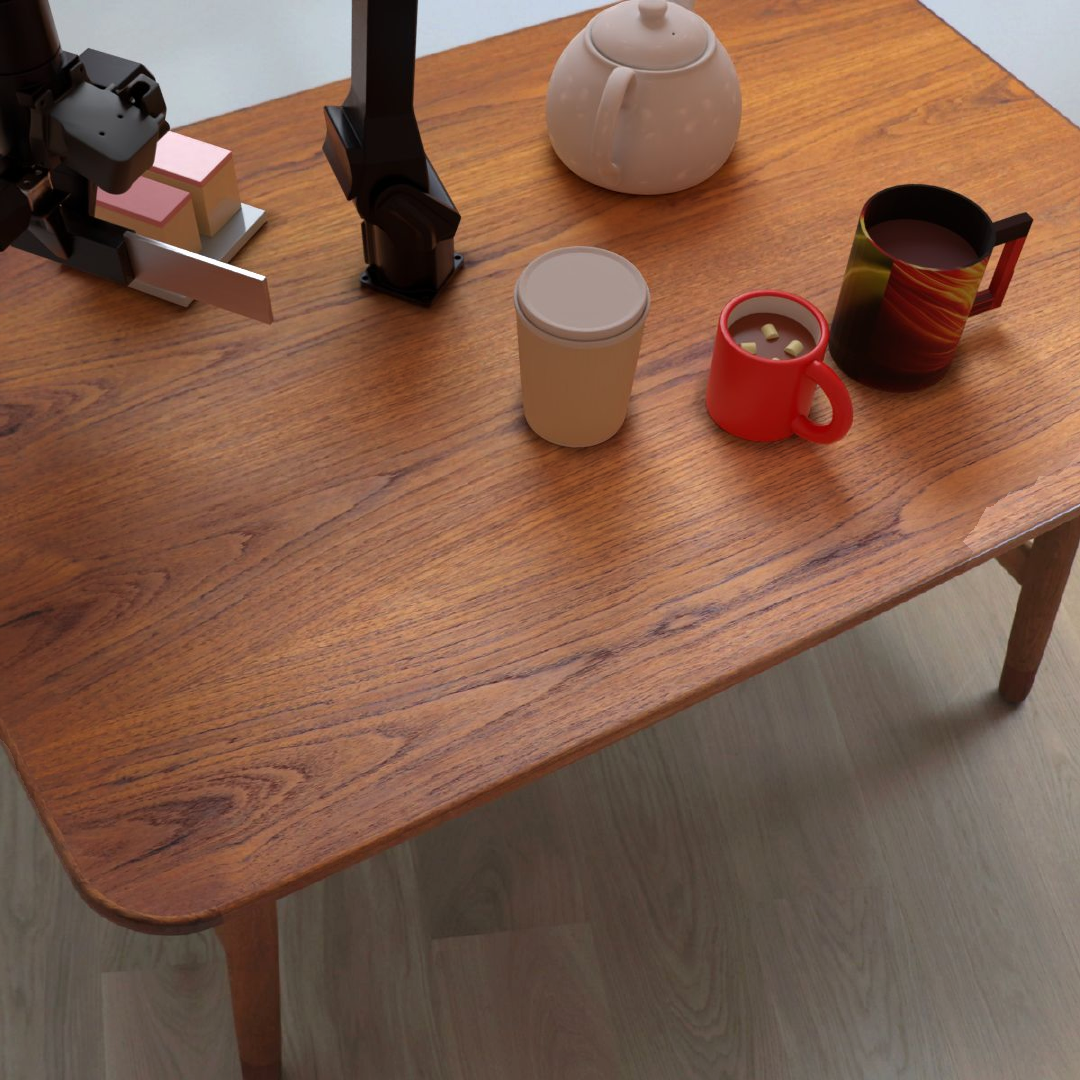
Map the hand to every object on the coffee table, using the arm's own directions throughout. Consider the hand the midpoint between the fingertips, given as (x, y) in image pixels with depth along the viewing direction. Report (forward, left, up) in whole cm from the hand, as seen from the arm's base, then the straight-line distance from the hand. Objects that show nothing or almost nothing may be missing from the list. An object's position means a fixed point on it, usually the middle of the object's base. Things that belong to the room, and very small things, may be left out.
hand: (74, 246), depth 97 cm
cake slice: (+3, -10, -9) cm, 14 cm away
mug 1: (-49, -16, -10) cm, 52 cm away
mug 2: (-55, -29, -10) cm, 63 cm away
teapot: (-27, -42, -10) cm, 51 cm away
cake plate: (+3, -13, -10) cm, 16 cm away
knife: (-6, 0, -1) cm, 6 cm away
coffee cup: (-35, -10, -10) cm, 38 cm away
